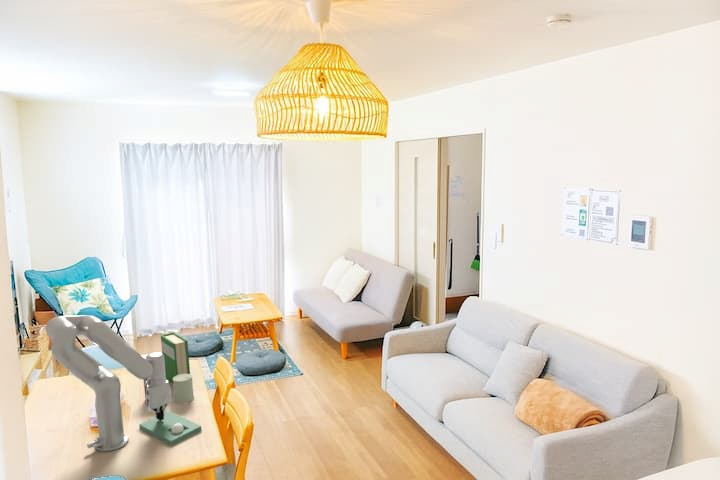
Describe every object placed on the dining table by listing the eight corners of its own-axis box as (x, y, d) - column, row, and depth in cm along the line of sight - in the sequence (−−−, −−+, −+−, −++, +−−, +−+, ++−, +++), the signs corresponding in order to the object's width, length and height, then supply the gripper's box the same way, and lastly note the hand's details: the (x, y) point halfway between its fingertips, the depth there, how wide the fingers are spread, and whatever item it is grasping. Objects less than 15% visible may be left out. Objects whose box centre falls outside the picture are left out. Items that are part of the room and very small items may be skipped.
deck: (171, 445, 221) (170, 441, 221) (139, 428, 236) (139, 424, 235) (201, 430, 233) (201, 425, 233) (169, 414, 247) (169, 410, 247)
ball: (172, 436, 226) (168, 433, 230) (183, 437, 228) (180, 433, 232) (175, 425, 226) (171, 421, 230) (186, 425, 229) (182, 422, 233)
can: (188, 404, 257) (186, 381, 255) (170, 402, 259) (168, 379, 257) (197, 395, 266) (195, 373, 264) (180, 394, 268) (178, 372, 266)
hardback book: (190, 383, 281) (187, 340, 277) (177, 387, 276) (173, 343, 272) (177, 373, 294) (174, 332, 290) (164, 377, 289) (160, 335, 285)
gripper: (145, 388, 227) (149, 428, 230) (176, 377, 238) (179, 415, 241) (136, 384, 232) (140, 423, 235) (167, 372, 243) (170, 410, 246)
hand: (160, 419), depth 238 cm, fingers closed
